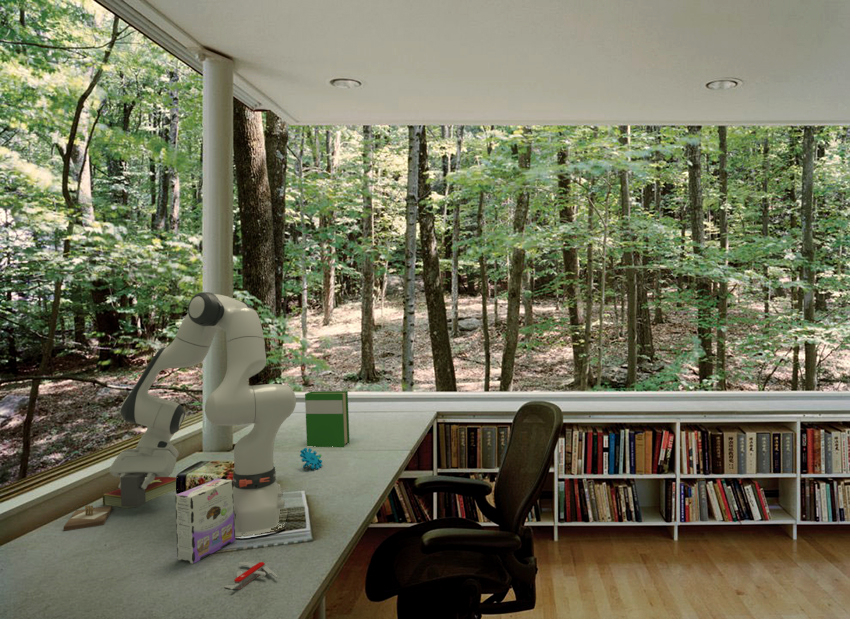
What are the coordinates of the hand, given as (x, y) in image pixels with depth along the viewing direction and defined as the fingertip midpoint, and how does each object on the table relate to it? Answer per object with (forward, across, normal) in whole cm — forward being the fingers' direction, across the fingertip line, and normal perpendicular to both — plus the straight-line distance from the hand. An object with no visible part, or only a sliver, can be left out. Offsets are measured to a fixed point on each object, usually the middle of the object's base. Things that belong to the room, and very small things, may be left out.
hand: (131, 488), depth 165 cm
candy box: (+22, +38, -10) cm, 45 cm away
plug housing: (+3, 0, +4) cm, 5 cm away
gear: (-30, +39, +41) cm, 64 cm away
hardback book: (-55, +33, +65) cm, 92 cm away
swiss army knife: (+32, +57, -19) cm, 68 cm away
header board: (+9, -11, +2) cm, 14 cm away
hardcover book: (-5, -8, +17) cm, 20 cm away
